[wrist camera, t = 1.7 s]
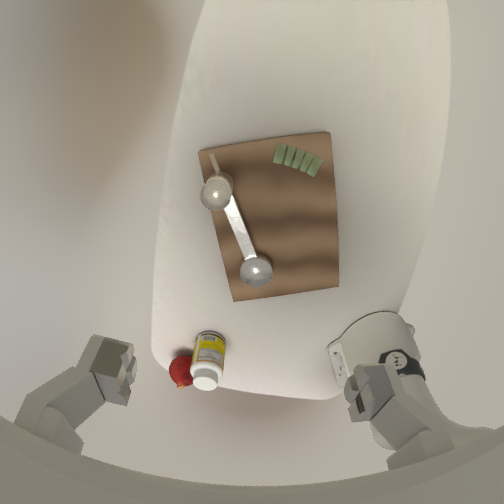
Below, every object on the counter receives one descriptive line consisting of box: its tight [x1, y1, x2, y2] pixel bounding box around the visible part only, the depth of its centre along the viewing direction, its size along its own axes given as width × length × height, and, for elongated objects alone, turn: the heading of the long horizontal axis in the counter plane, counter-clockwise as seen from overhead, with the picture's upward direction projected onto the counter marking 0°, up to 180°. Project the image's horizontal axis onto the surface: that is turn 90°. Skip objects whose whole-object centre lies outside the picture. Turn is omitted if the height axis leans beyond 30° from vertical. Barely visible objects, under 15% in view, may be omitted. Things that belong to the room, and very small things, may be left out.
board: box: [198, 132, 339, 302], centre depth 39 cm, size 23×16×2 cm
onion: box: [169, 356, 193, 389], centre depth 50 cm, size 6×6×8 cm
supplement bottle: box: [190, 332, 225, 391], centre depth 47 cm, size 6×6×10 cm
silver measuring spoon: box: [201, 171, 273, 287], centre depth 35 cm, size 17×4×6 cm, turn 20°
